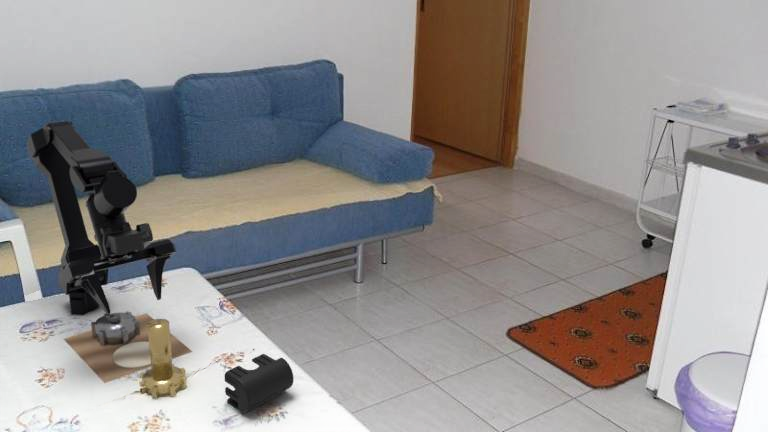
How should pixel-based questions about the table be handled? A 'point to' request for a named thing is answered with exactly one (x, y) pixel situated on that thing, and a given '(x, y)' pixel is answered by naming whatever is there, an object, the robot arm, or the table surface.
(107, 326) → the sun gear
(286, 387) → the end cap
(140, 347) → the carrier board
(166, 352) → the gear
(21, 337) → the table surface
